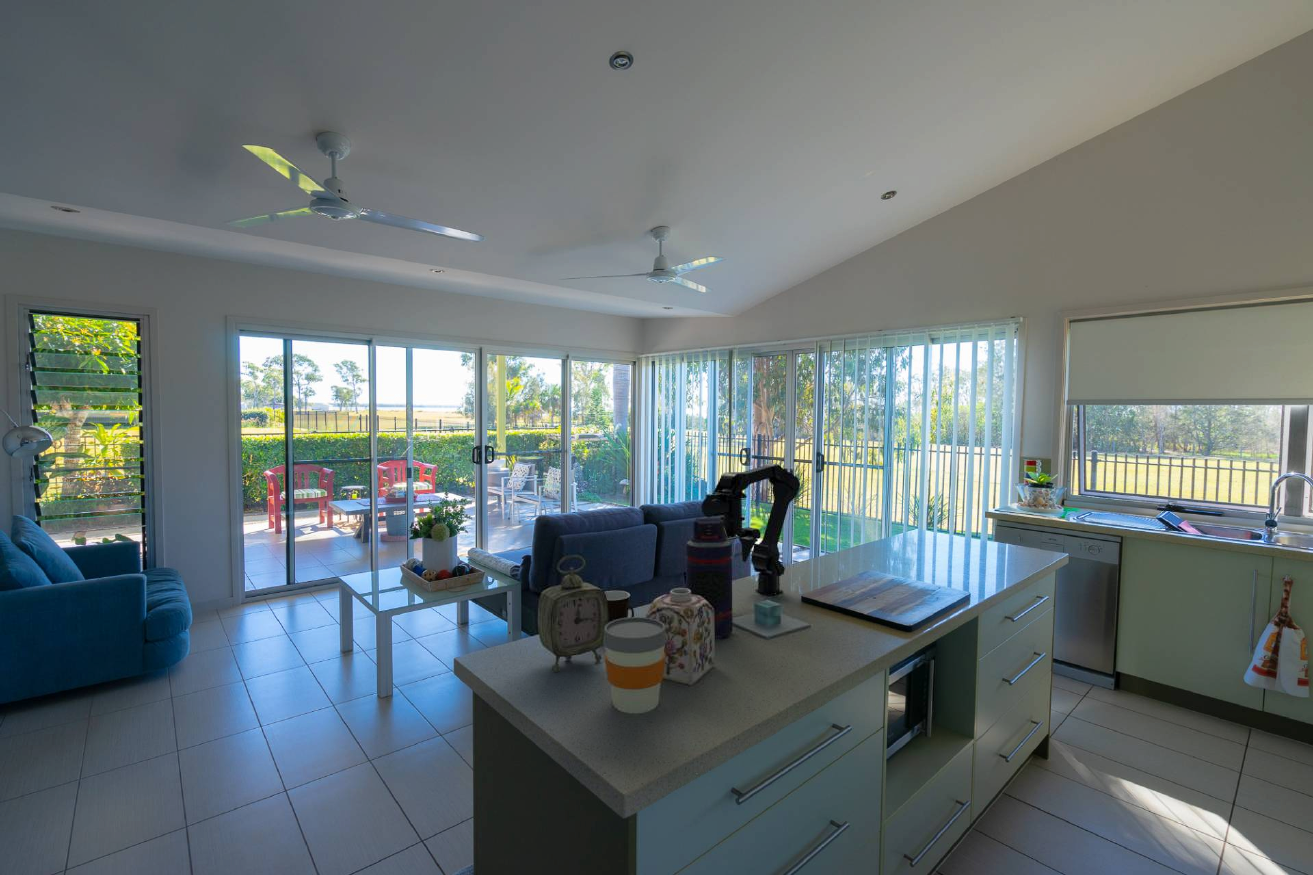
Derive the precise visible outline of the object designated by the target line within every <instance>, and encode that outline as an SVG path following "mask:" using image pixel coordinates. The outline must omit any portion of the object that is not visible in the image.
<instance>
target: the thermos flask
mask: <svg viewBox="0 0 1313 875" xmlns="http://www.w3.org/2000/svg"><path fill="white" fill-rule="evenodd" d="M720 518H721V517H719V518H718V517H703V518H701V517H700V518H699V517H697V518H695V519H694V520H693V523H692V524H693V527H692V528H693V536H692V537H691V538H690V540H688V541H686V543H685V556H686V558H685V567H686V569H685V570H686V573H685V576H686V578H685V579H686V582H685V583H686V589H689V590H691V594H692V595H698V596H701V597H703V598H704V599H705V600H706V601H708V602H709V604H710V605H711V606H712V608H713V609H714V628H715V638H721V640H722V641H725V640H727V639H729V635H730V634H731V633H732V632H733V630H734V628H733V626H734V625H732V618H733V559H732V556H733V549H732V548H733V543H732V541H731V540H727V534H726V531H725V528H724V521H723V520H720ZM724 532H725V535H726V537H724Z"/></svg>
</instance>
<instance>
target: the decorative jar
mask: <svg viewBox="0 0 1313 875" xmlns="http://www.w3.org/2000/svg"><path fill="white" fill-rule="evenodd" d="M645 618H652V619H656V620H659V621H661V622H662V623H663V624H664V625H665V630H666V638H667V642H666V644H665V647H664V652H665V654H666V657H665V666H664V675H663V679H662V680H667V681H671V682H675V683H676V682H677V683H680V684H684V685H689V686H693V685H694V684H695V683H696V682H697V681H698V680H700V679H701V678H702V677H703V676H704V675H706V674H707V673H708V672H710V671H711V670H712V669H713V668H714V667H715V664H716V663H715V662H716V660H715V659H716V655H715V654H716V648H715V647H716V642H715V641H716V640H715V639H716V637H715V628H714V609H713V608H712V606H711V605H710V604H709V602H708V601H706V600H705V599H704V598H703V597H701V596H698V595H692V594H691V590H689V589H686V588H685V587H677V588H676V587H675V588H673V589H671V590H670V591H669V593H667V594H663V595H661V596H658V597H656V598H655V599H654V600H653V601H652V603H651V605H650V607H649V608H648V610H647V612H646V614H645Z"/></svg>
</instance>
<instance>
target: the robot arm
mask: <svg viewBox="0 0 1313 875" xmlns="http://www.w3.org/2000/svg"><path fill="white" fill-rule="evenodd" d="M765 480H768V482H769V483H770V484H771V485H772V490H771V491H772V494H773V499H774V500H773V503H772V506H771V509H770V513H769V517H768V520H767V523H766V527H765V531H764V534H763V537H762V539H761V535H762V534H761V530H759V528H757V527H755V528H754V527H750V526H748V527H743V521H746V517H745V516H743V499H746V498H747V497H748V495H746V494H745V493H744V492H743V491H744V490H746V489H748V488H749V486H750V485H753V484H755V483H758V482H762V481H765ZM800 487H801V482H800V480H799V478H798V477H797V476H795V475H794V474H793V473H792V472H789V471H788V470H786V469H785V468H783V467H782V466H781V465H779V464H778V463H767V464H764V465H761V466H759V467H755V468H751V469H747V470H744V471H738V472H737V471H733V472H732V471H729V472H727V471H726V472H723V473H722V474H721V475H720V478H719V480H718V482H717V484H716V486H715V488H714V490H713V491H712V494H711V493H707V494H705V498H704V500H703V501H702V503H701V507H700V508H701V512H702V514H703V515H704V516H705V518H716V517H719V518H720V520H723V521H724V528H725V531H726V534H727V541H731V540H737V539H738V540H739V542H740V544H741V557H742V558H741V559H742V562H744V563H746V562H747V561H748V559H749V556H751V560H750V562H751V564H752V566H753V570H754V572H755V573H758V579H757V588H756V589H755V592H757V591H759V592H758V593H760V592H761V594H763V593H765V594H764V595H766V594H767V595H766V596H773V595H772V594H774V595H776V594H775V593H778V594H781V593H780V592H782V593H784V591H783V590H782V589H780V577H781V576H783V575H784V574H785V569H786V568H785V566H784V565H783V564H782V562H781V561H780V554H781V553H780V550H779V545H778V544H779V541H780V538H781V537H780V536H781V534H782V532H783V531H782V530H783V526H784V524H785V519H786V516H787V513H788V509H789V505H790V503H792V501H793V500H794V499H795V498H796V497H797V495H798V493H799V490H800ZM724 537H726V535H725V532H724ZM758 539H761V541H760V542H759V543H756V542H758V541H759V540H758Z"/></svg>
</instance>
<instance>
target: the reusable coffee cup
mask: <svg viewBox="0 0 1313 875" xmlns="http://www.w3.org/2000/svg"><path fill="white" fill-rule="evenodd" d="M666 642H667V638H666V630H665V625H664V624H663V623H662V622H661V621H659V620H656V619H652V618H646V616H645V617H643V616H634V617H628V618H622V619H617V620H614V621H611V622H609V623H608V624H606V626H605V628H604V637H603V644H604V645H603V646H604V647H605V648H604V649H605V654H604V664H605V670H606V678H607V682H608V683H609V684H610V691H611V697H612V698H611V699H612V704H613V707H614V708H615V709H616V708H617V709H618V710H617V709H616V710H617V711H619V710H620V711H619V712H622V713H625V712H627V713H626V714H632V713H633V714H643V713H648V712H650V711H652V710H655V708H656V707H657V706H658V704H659V700H660V690H661V682H662V681H663V680H664V679H663V675H664V666H665V657H666V654H665V652H664V647H665V644H666Z"/></svg>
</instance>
